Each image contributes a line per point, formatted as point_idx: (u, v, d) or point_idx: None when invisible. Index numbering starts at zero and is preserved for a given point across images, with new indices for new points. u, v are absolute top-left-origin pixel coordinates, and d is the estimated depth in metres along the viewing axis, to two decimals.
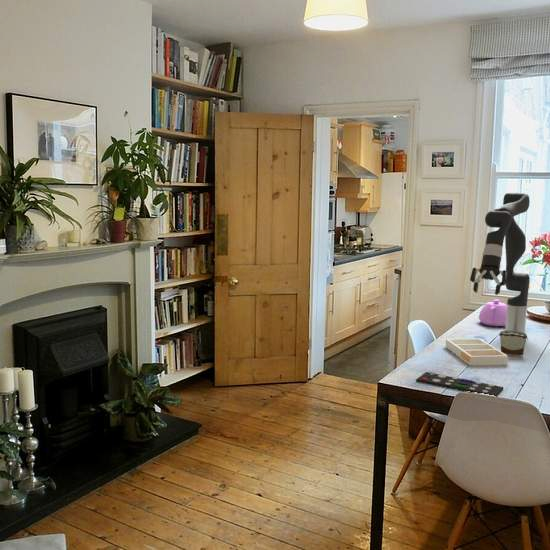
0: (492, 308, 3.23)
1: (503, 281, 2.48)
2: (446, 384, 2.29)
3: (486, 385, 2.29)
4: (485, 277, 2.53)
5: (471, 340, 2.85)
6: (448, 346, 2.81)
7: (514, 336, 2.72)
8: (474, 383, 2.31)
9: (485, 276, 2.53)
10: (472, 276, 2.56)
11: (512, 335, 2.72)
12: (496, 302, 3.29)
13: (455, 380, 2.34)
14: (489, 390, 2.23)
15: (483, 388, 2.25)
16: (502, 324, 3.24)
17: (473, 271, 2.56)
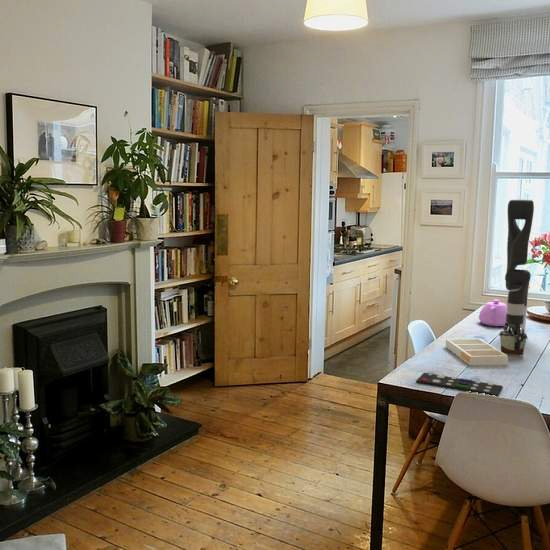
0: (492, 308, 3.23)
1: (517, 339, 2.68)
2: (447, 384, 2.29)
3: (486, 384, 2.30)
4: None
5: (471, 340, 2.85)
6: (448, 346, 2.81)
7: None
8: (474, 383, 2.31)
9: (510, 332, 2.75)
10: (504, 330, 2.80)
11: (512, 335, 2.72)
12: (496, 302, 3.29)
13: (454, 380, 2.34)
14: (490, 389, 2.24)
15: (484, 387, 2.26)
16: (502, 324, 3.24)
17: (505, 326, 2.80)
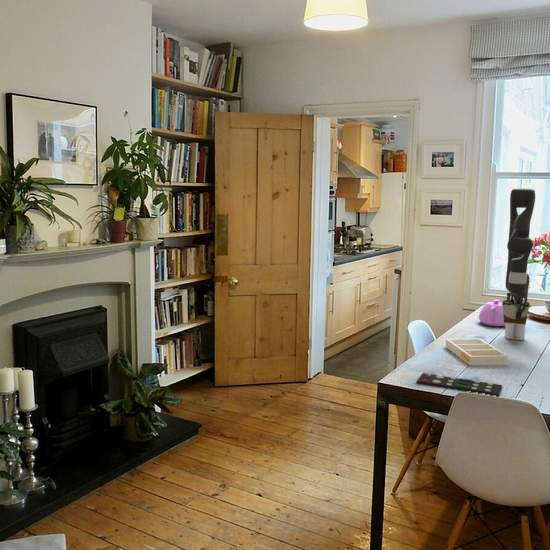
0: (492, 308, 3.23)
1: (519, 308, 2.67)
2: (447, 385, 2.29)
3: (485, 384, 2.30)
4: (513, 302, 2.73)
5: (471, 340, 2.85)
6: (448, 346, 2.81)
7: None
8: (473, 382, 2.32)
9: (513, 301, 2.73)
10: None
11: None
12: (496, 302, 3.29)
13: (454, 380, 2.34)
14: (491, 389, 2.25)
15: (484, 387, 2.27)
16: (502, 324, 3.24)
17: (507, 296, 2.78)
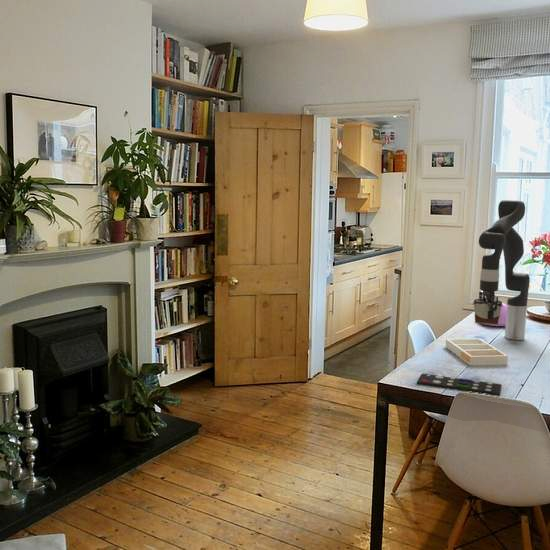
0: None
1: (490, 307, 2.53)
2: (448, 385, 2.28)
3: (485, 383, 2.31)
4: (485, 301, 2.58)
5: (471, 340, 2.85)
6: (448, 346, 2.81)
7: None
8: (473, 382, 2.32)
9: (485, 300, 2.59)
10: None
11: None
12: None
13: (454, 380, 2.34)
14: (491, 388, 2.25)
15: (484, 387, 2.27)
16: (502, 324, 3.24)
17: (479, 295, 2.64)
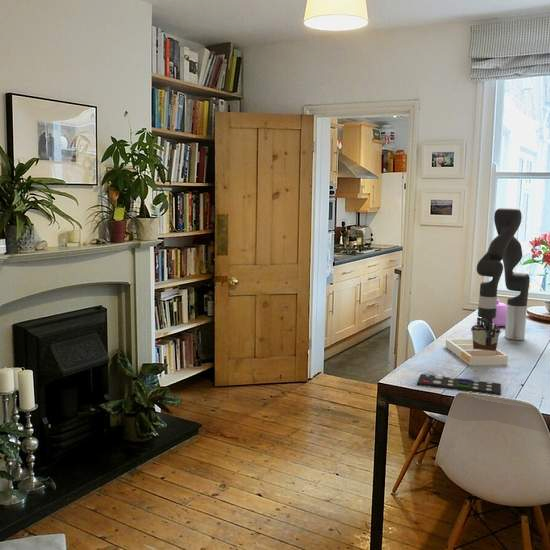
0: None
1: (488, 334, 2.54)
2: (449, 385, 2.28)
3: (485, 383, 2.31)
4: (483, 327, 2.60)
5: (471, 340, 2.85)
6: (448, 346, 2.81)
7: None
8: (473, 382, 2.32)
9: (483, 326, 2.60)
10: None
11: None
12: None
13: (453, 380, 2.34)
14: (491, 388, 2.26)
15: (484, 386, 2.27)
16: (502, 324, 3.24)
17: (477, 321, 2.66)
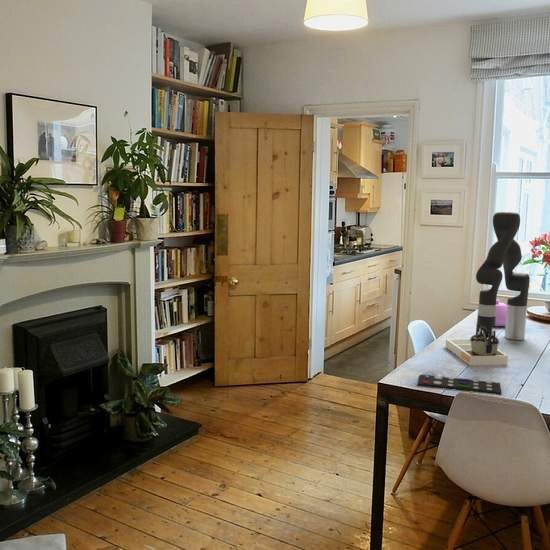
0: None
1: (489, 342, 2.54)
2: (449, 385, 2.28)
3: (484, 382, 2.32)
4: (482, 335, 2.61)
5: None
6: (448, 346, 2.81)
7: (485, 341, 2.59)
8: (472, 382, 2.32)
9: (481, 334, 2.61)
10: (476, 332, 2.67)
11: (483, 340, 2.59)
12: (496, 302, 3.29)
13: (453, 380, 2.34)
14: (491, 387, 2.26)
15: (485, 386, 2.28)
16: (502, 324, 3.24)
17: (476, 327, 2.66)
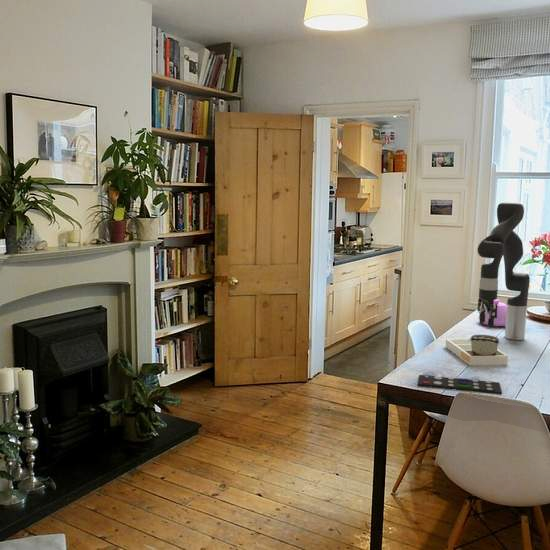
0: None
1: (490, 315, 2.52)
2: (450, 386, 2.28)
3: (484, 382, 2.32)
4: (483, 309, 2.60)
5: None
6: (448, 346, 2.81)
7: (486, 341, 2.60)
8: (472, 381, 2.33)
9: (483, 308, 2.59)
10: (478, 307, 2.65)
11: (484, 340, 2.60)
12: (496, 302, 3.29)
13: (453, 380, 2.34)
14: (492, 387, 2.27)
15: (485, 386, 2.28)
16: (502, 324, 3.24)
17: (478, 302, 2.64)
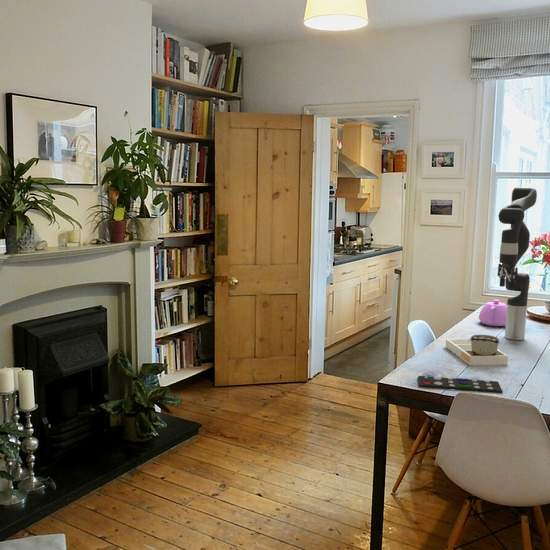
0: (492, 308, 3.23)
1: (511, 278, 2.65)
2: (451, 386, 2.27)
3: (483, 382, 2.33)
4: (504, 273, 2.73)
5: None
6: (448, 346, 2.81)
7: (486, 341, 2.60)
8: (471, 381, 2.33)
9: (504, 272, 2.73)
10: (498, 272, 2.78)
11: (484, 340, 2.60)
12: (496, 302, 3.29)
13: (453, 380, 2.34)
14: (492, 386, 2.27)
15: (485, 385, 2.29)
16: (502, 324, 3.24)
17: (498, 267, 2.78)
